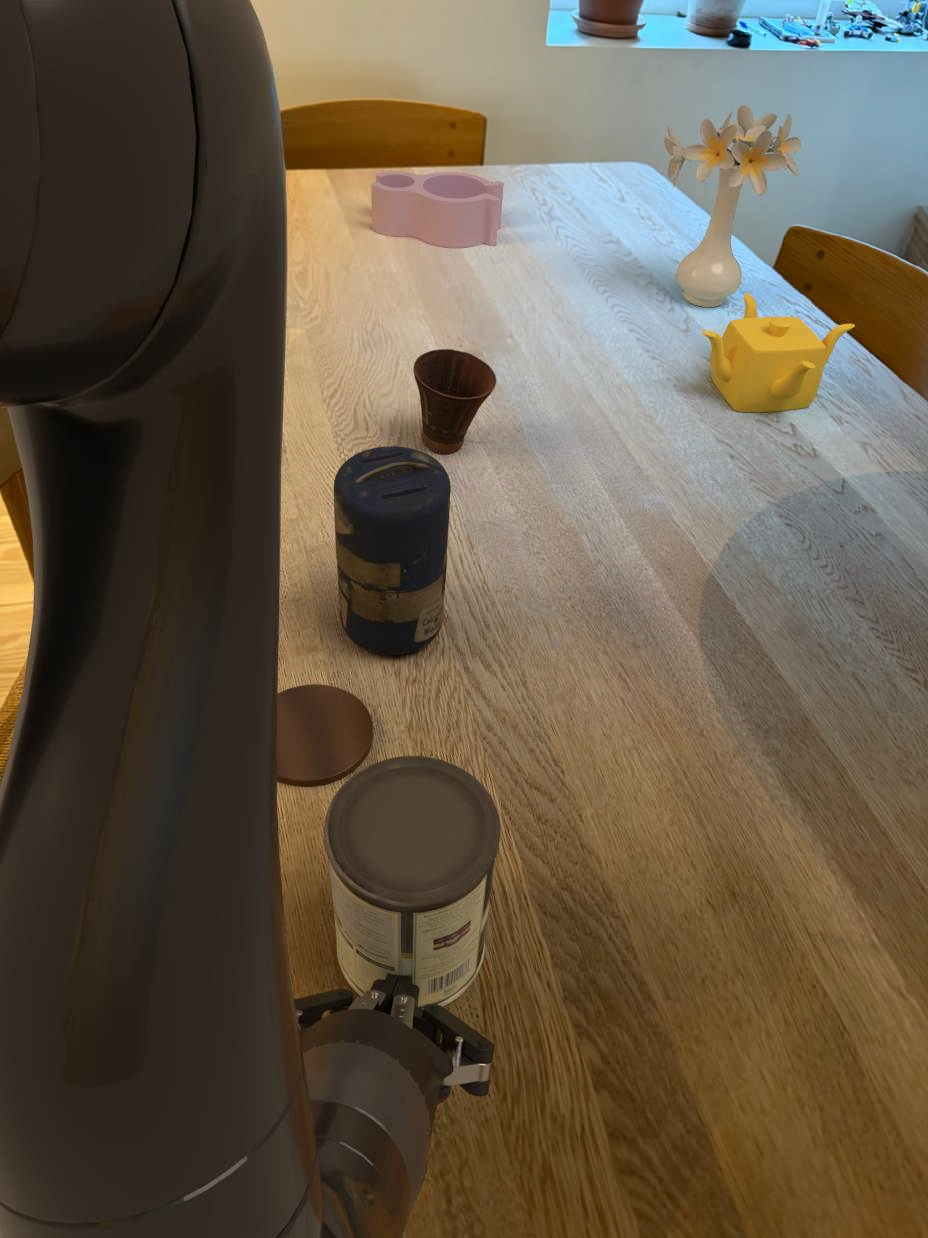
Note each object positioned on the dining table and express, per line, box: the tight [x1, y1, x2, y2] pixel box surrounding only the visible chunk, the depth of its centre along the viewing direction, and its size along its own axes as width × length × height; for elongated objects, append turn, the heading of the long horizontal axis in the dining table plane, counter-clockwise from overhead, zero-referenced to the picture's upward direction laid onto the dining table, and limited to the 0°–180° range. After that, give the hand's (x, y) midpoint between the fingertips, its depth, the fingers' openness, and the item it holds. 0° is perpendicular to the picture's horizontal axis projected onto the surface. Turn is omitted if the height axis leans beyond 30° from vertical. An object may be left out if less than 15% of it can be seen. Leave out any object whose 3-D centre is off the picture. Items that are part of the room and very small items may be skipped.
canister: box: [333, 445, 452, 656], centre depth 81 cm, size 10×10×18 cm
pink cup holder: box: [370, 170, 505, 249], centre depth 150 cm, size 20×12×7 cm, turn 83°
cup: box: [412, 348, 497, 455], centre depth 105 cm, size 9×9×10 cm
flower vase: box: [663, 104, 802, 308], centre depth 130 cm, size 13×18×25 cm
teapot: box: [700, 293, 856, 413], centre depth 118 cm, size 15×14×10 cm
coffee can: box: [323, 755, 501, 1009], centre depth 61 cm, size 10×10×14 cm
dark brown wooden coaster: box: [277, 683, 374, 787], centre depth 78 cm, size 10×10×1 cm
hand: (397, 990), depth 59 cm, fingers closed
